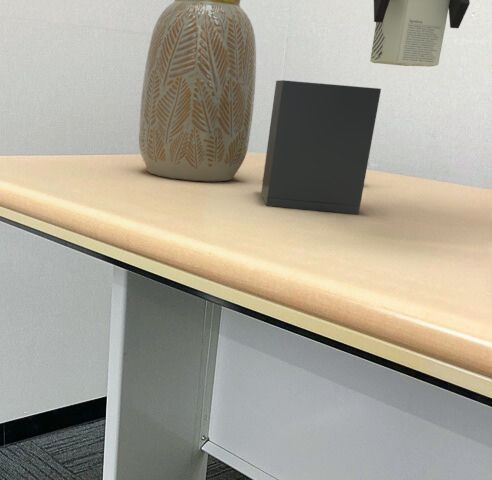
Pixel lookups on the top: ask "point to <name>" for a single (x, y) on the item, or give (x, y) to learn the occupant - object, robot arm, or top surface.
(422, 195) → the top surface
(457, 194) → the top surface
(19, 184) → the top surface
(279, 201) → the dark grey block
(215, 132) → the vase
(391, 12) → the box
